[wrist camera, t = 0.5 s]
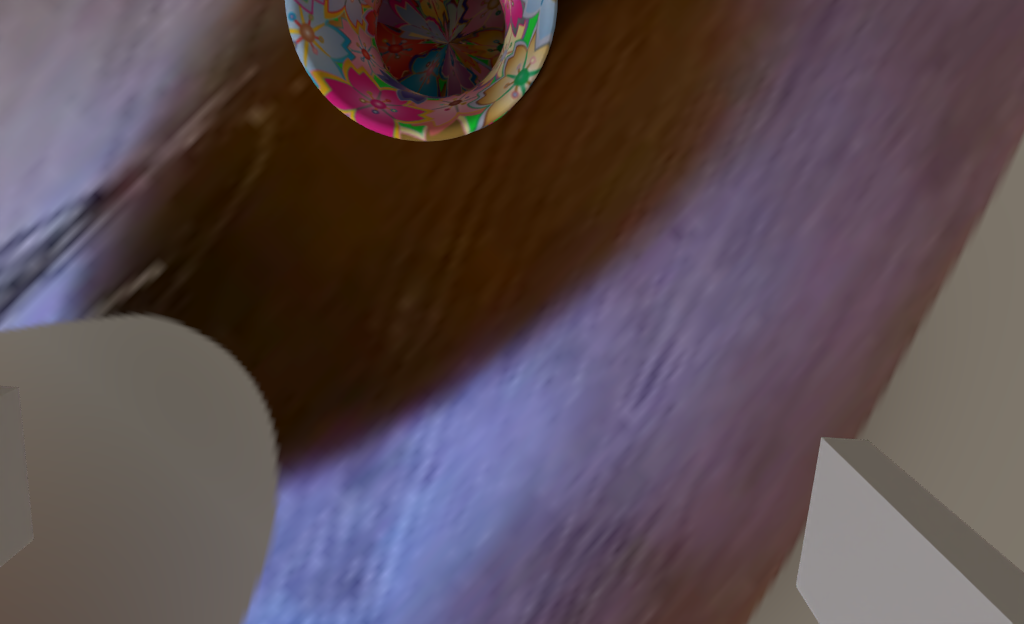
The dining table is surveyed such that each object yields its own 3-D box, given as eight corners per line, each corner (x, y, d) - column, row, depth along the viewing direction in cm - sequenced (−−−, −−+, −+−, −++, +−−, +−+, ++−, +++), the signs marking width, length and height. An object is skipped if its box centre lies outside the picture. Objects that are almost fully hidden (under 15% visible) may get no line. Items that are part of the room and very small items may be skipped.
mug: (569, -29, 34) (591, -106, 24) (516, 165, 36) (515, 172, 26) (320, -103, 34) (232, -216, 23) (280, 98, 36) (182, 78, 25)
